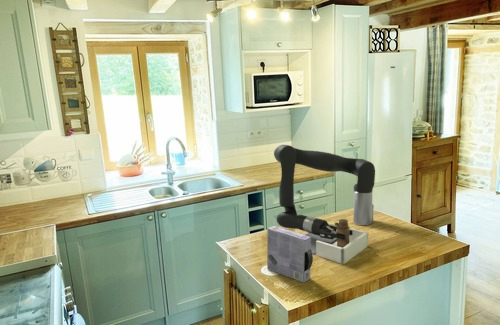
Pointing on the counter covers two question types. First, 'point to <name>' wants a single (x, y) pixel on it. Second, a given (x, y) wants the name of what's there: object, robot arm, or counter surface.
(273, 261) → the cake pan box
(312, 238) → the serving board
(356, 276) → the counter surface
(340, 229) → the pepper mill
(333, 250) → the cubby
